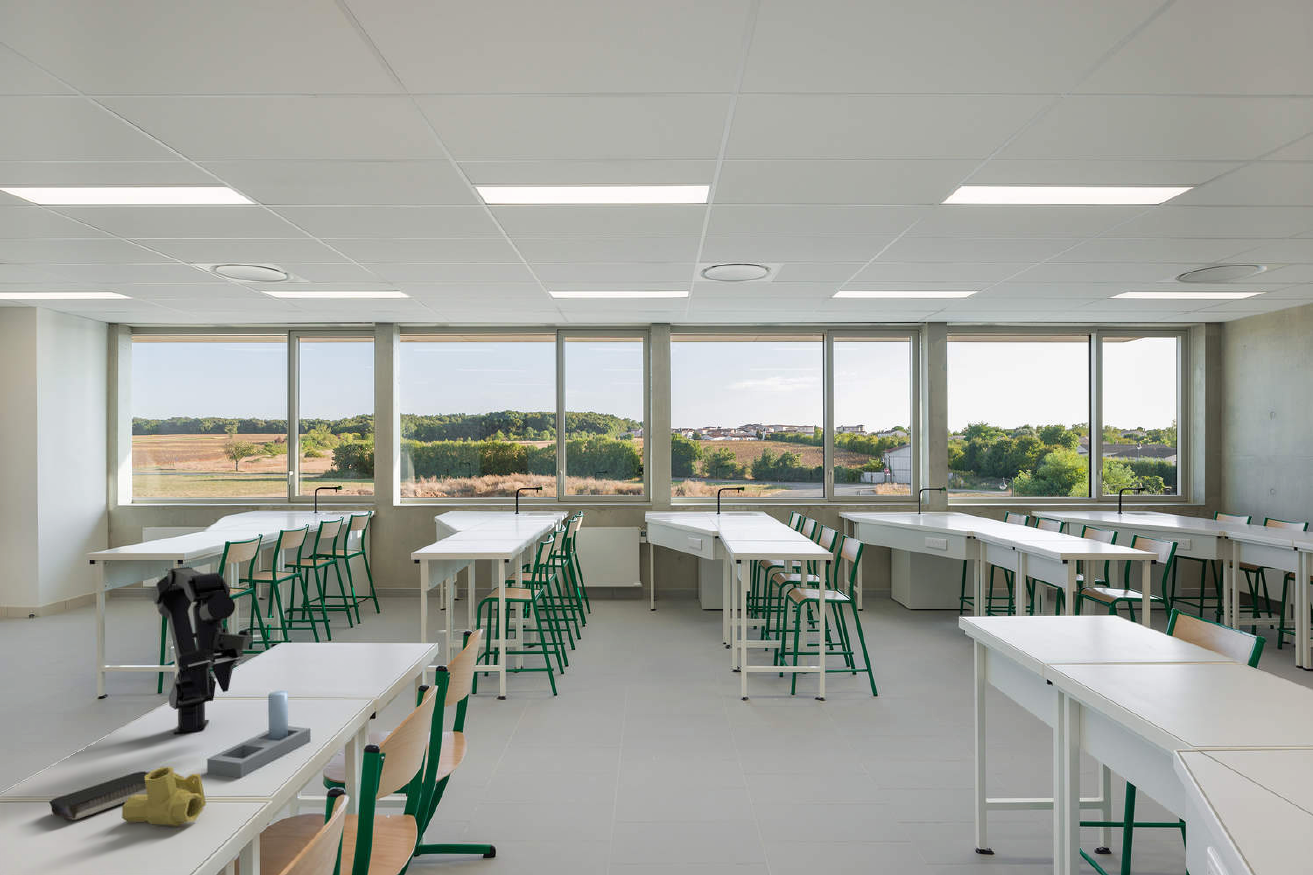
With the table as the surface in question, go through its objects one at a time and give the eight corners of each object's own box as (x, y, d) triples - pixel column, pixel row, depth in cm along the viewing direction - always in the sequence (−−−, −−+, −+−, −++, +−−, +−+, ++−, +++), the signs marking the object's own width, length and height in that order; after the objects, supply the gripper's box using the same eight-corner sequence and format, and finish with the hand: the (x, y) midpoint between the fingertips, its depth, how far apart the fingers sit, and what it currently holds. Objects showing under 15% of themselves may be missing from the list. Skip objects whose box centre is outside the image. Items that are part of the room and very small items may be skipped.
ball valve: (185, 836, 135) (224, 801, 145) (175, 782, 133) (215, 751, 143) (122, 836, 136) (165, 802, 146) (111, 783, 135) (156, 752, 145)
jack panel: (240, 777, 156) (240, 763, 156) (207, 772, 159) (207, 758, 159) (310, 741, 176) (310, 728, 176) (279, 737, 178) (279, 724, 178)
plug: (267, 747, 172) (266, 693, 173) (286, 742, 175) (285, 689, 175) (270, 752, 169) (270, 697, 169) (289, 748, 172) (289, 693, 172)
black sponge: (65, 828, 137) (65, 808, 137) (47, 816, 141) (47, 797, 141) (163, 793, 150) (163, 775, 151) (143, 783, 155) (143, 765, 155)
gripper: (224, 617, 168) (232, 688, 165) (261, 618, 187) (269, 681, 183) (173, 629, 167) (180, 701, 164) (215, 628, 185) (222, 692, 182)
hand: (215, 693), depth 173 cm, fingers open, 9 cm apart
